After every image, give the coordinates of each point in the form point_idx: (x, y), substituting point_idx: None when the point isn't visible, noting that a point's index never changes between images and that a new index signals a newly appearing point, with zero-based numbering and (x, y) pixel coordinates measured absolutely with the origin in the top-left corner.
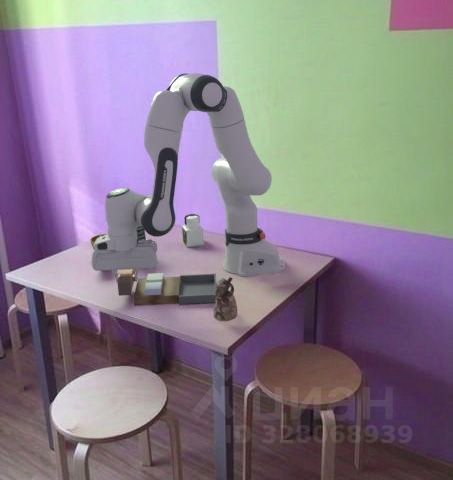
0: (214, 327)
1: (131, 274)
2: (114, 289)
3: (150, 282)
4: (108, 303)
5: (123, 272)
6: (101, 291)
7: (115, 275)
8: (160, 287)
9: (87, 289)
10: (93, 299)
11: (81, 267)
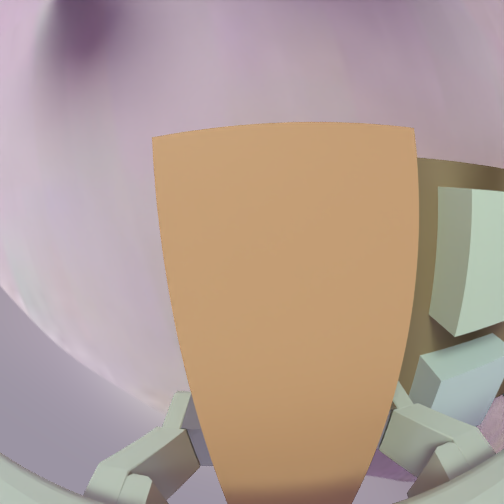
0: (495, 442)
1: (359, 480)
2: (145, 205)
3: (466, 372)
4: (174, 390)
5: (254, 476)
6: (77, 236)
7: (170, 483)
8: (485, 414)
9: (15, 210)
10: (80, 336)
11: (3, 8)
